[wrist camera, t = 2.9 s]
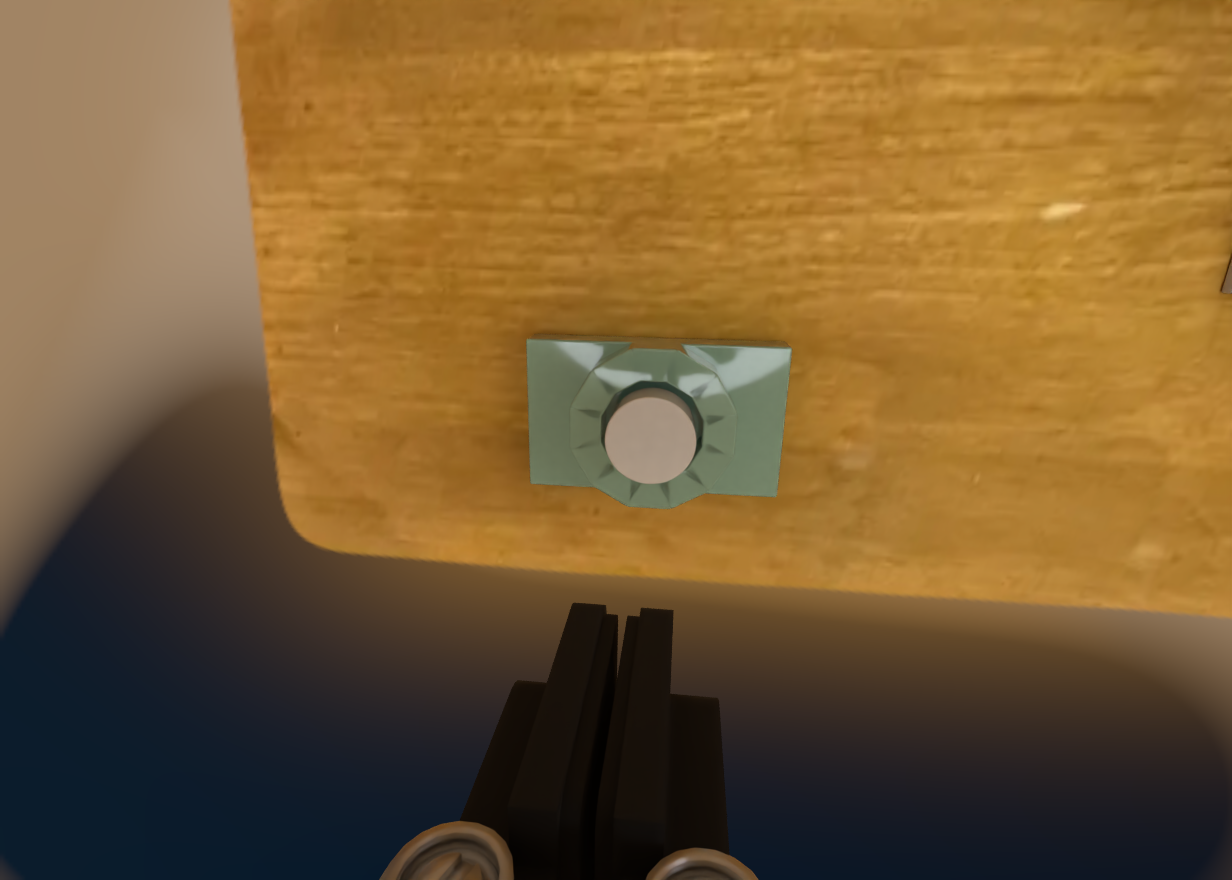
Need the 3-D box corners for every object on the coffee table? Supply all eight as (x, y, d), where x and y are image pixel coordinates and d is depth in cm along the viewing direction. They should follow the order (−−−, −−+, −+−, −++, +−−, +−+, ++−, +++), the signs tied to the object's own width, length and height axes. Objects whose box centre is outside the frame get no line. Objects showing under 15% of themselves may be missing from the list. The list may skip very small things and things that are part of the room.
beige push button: (608, 467, 24) (603, 482, 22) (609, 385, 23) (604, 395, 21) (693, 471, 24) (693, 487, 22) (698, 388, 23) (699, 399, 21)
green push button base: (537, 473, 27) (520, 501, 24) (533, 332, 25) (514, 344, 22) (772, 485, 26) (782, 516, 23) (786, 340, 24) (800, 353, 21)
